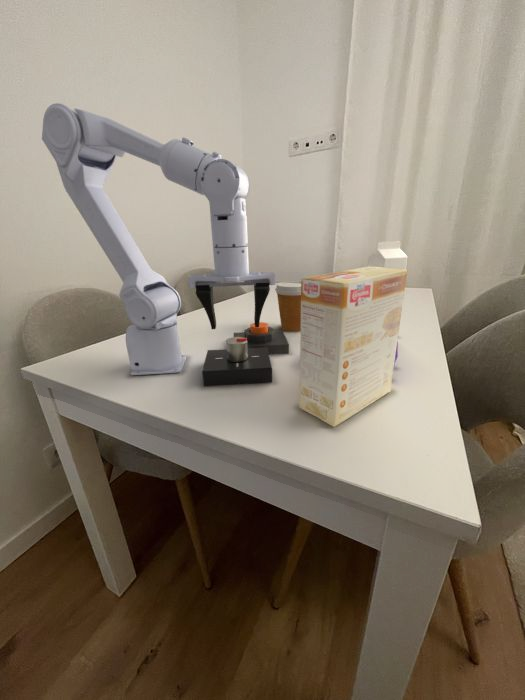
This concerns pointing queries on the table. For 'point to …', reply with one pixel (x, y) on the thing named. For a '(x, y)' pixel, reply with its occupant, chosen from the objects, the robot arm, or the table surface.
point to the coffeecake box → (348, 339)
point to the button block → (266, 340)
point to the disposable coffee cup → (289, 305)
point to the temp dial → (236, 349)
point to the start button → (259, 328)
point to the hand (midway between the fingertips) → (235, 326)
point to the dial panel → (237, 368)
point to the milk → (388, 256)
